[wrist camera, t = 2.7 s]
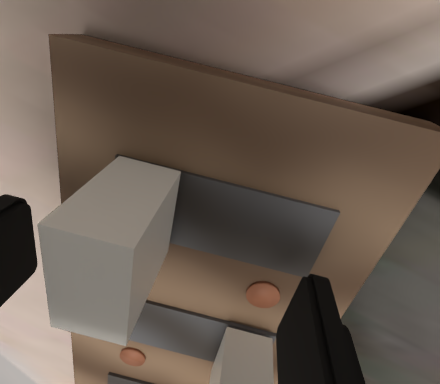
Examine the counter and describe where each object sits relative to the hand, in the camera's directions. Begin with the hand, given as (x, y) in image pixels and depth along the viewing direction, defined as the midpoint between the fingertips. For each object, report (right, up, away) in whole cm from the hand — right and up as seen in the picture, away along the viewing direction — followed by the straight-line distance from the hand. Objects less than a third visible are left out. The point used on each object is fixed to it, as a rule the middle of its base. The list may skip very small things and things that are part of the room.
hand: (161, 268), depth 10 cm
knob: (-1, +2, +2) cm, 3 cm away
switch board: (0, -4, +8) cm, 9 cm away
